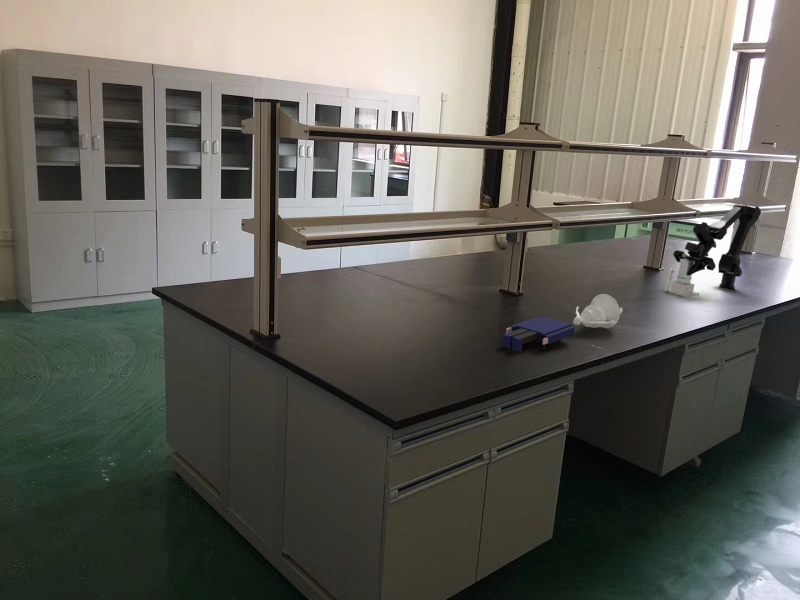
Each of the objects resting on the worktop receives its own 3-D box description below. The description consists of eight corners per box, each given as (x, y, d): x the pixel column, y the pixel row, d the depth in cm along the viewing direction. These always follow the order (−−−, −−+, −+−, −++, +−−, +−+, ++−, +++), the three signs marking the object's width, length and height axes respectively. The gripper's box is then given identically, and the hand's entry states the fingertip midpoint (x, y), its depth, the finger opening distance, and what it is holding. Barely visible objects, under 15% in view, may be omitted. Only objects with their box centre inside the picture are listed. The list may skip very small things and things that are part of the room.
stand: (678, 288, 302) (682, 267, 299) (699, 294, 293) (703, 272, 290) (663, 290, 296) (667, 268, 294) (684, 296, 288) (688, 274, 285)
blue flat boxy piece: (492, 329, 209) (540, 314, 225) (492, 348, 210) (539, 331, 226) (531, 340, 198) (578, 323, 214) (530, 360, 200) (577, 341, 216)
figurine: (642, 299, 229) (599, 309, 213) (635, 331, 233) (592, 343, 217) (602, 285, 241) (558, 294, 226) (595, 316, 245) (552, 327, 229)
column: (681, 286, 297) (686, 258, 293) (689, 288, 293) (695, 260, 290) (675, 286, 295) (680, 259, 291) (683, 289, 291) (688, 261, 288)
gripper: (679, 232, 297) (659, 257, 295) (716, 240, 282) (696, 267, 279) (687, 248, 304) (667, 273, 301) (724, 257, 288) (704, 283, 286)
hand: (683, 274), depth 292 cm, fingers closed on column, 4 cm apart
